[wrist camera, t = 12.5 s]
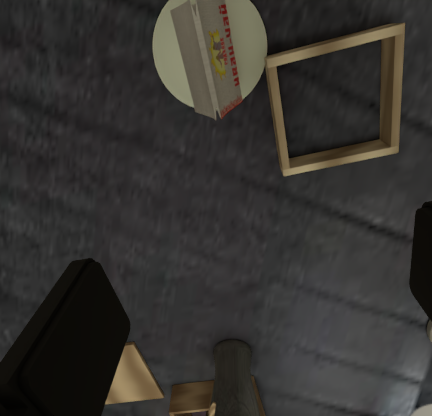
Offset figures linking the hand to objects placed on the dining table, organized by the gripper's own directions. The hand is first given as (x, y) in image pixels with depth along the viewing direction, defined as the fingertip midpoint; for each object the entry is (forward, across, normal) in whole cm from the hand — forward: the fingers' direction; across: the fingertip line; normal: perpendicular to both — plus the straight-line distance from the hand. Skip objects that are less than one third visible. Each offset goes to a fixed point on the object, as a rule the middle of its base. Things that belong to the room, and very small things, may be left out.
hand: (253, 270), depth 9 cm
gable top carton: (+23, +1, -5) cm, 24 cm away
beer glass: (+25, +8, +37) cm, 45 cm away
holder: (+24, -9, +2) cm, 26 cm away
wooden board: (+24, +31, +39) cm, 55 cm away
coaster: (+24, +2, -5) cm, 24 cm away
